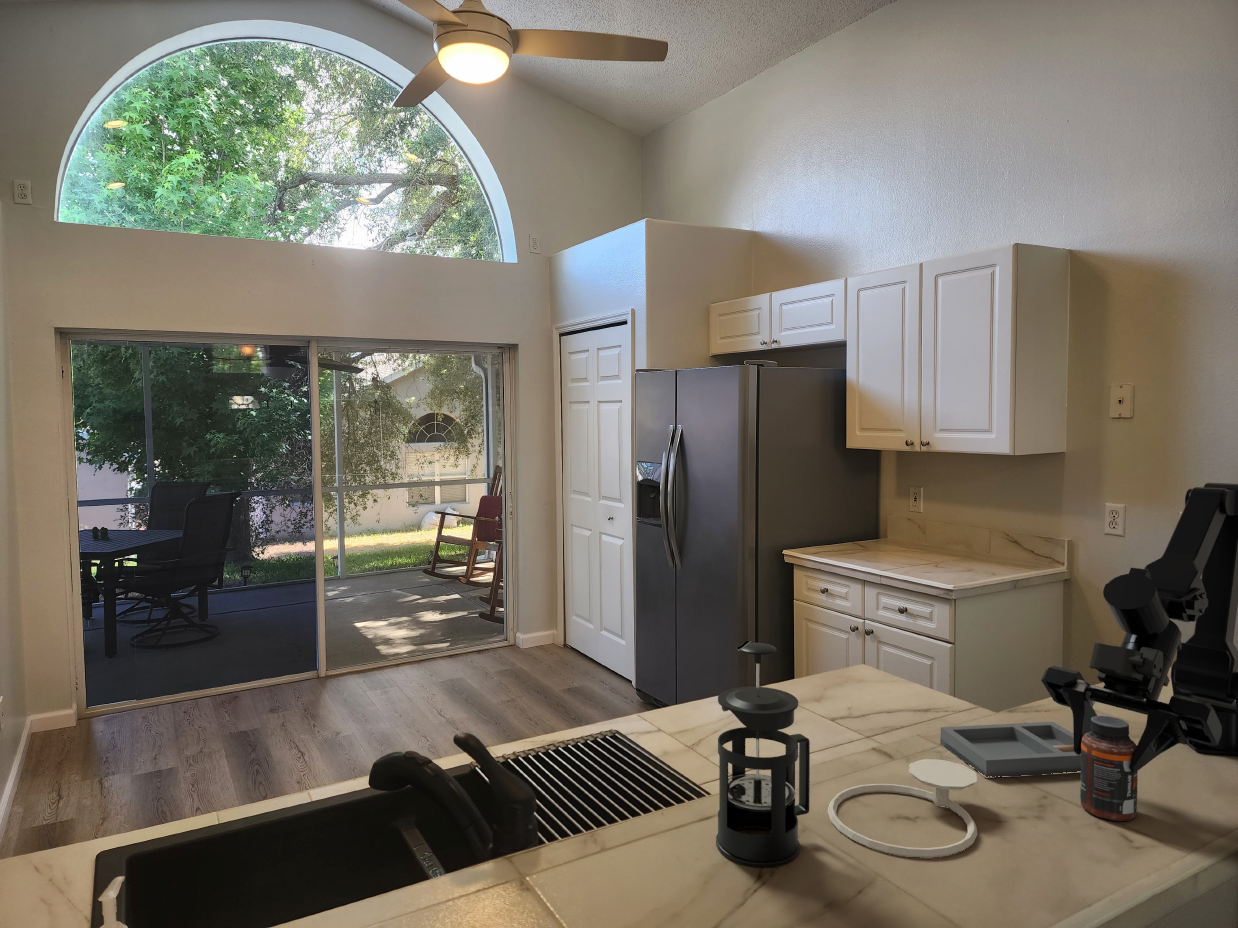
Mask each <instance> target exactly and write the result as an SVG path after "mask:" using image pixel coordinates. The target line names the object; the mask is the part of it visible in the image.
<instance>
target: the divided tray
mask: <svg viewBox="0 0 1238 928" xmlns="http://www.w3.org/2000/svg"><path fill="white" fill-rule="evenodd" d="M939 738H940V743H939V744H940V745H942V747H944V748H945V749H947V750H948V751H950V752H951V754H954V755H955V756H956V757H957V758H959V759H960V760H961V759H962V760H963V763H965V762H966V763H968V764H969V765H971V766H972V767H974V768H975V769H976V770H977V771H979V772H980V773H982V774H983V775H985V776H986V777H988V776H989V777H990V776H992V777H995V776H996V777H998V776H1000V777H1002V776H1021V775H1040V776H1043V775H1042V774H1051V773H1052V774H1053V773H1063V772H1066V773H1067V772H1077V771H1081V754H1080V755H1077V754H1076V753H1075V751H1074V734H1073V732H1072V731H1070V730H1069V729H1067V728H1065V727H1063V726H1061V725H1060V724H1058V723H1056V722H1055V721H1043V722H1041V721H1040V722H1021V723H1020V722H1019V723H1018V722H1017V723H1001V724H999V723H998V724H981V725H980V724H977V725H961V726H960V725H959V726H940V737H939ZM962 760H961V761H962ZM966 763H965V764H966ZM968 764H967V765H968ZM969 765H968V766H969ZM972 767H971V768H972ZM976 770H975V771H976ZM977 771H976V772H977Z"/></svg>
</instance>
